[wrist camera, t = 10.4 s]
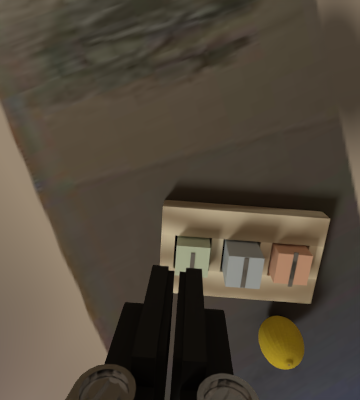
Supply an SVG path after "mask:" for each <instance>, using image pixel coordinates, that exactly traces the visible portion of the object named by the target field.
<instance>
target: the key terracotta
mask: <svg viewBox="0 0 360 400" xmlns="http://www.w3.org/2000/svg"><path fill="white" fill-rule="evenodd" d="M312 259H313V255H312V254H311V252H310V251H309V250H308V248H307V247H306V246H305V245H293V244H280V243H272V248H271V254H270V260H269V265H268V271H269V274H270V276H271V278H272V281H273V283H281V284H288V287H292V284H293V285H306V286H307V282H308V277H309V273H310V268H311V264H312Z"/></svg>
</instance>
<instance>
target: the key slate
mask: <svg viewBox="0 0 360 400" xmlns="http://www.w3.org/2000/svg"><path fill="white" fill-rule="evenodd" d="M264 260H265V258H264V256H263V254H262V251H261V249H260V247H259V245H258V242H254V241H241V240H228V239H225V246H224V254H223V262H222V271H223V277H224V283H225V287H237V288H250V289H260V284H261V278H262V272H263V266H264Z"/></svg>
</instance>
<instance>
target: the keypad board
mask: <svg viewBox="0 0 360 400" xmlns="http://www.w3.org/2000/svg"><path fill="white" fill-rule="evenodd" d="M329 223H330V218H329V217H328V216H327V215H325V214H324V213H323V212H321V211H308V210H295V209H281V208H268V207H255V206H241V205H228V204H215V203H202V202H188V201H175V200H165V201H164V204H163V215H162V234H161V254H160V266H169V271H175V262H176V259H174V253H175V238H176V236H189V237H202V238H210V247H211V249H210V259H209V268H208V277H207V278H203V295H205V296H218V297H230V298H243V299H255V300H268V301H280V302H293V303H305V304H311V300H312V296H313V291H314V287H315V283H316V279H317V274H318V270H319V266H320V261H321V257H322V253H323V248H324V244H325V240H326V235H327V231H328V227H329ZM224 239H228V240H241V241H254V242H258V245H259V247H260V249H261V251H262V254H263V256H264V258H265V260H264V266H263V272H262V278H261V284H260V289H250V288H237V287H225V283H224V277H223V271H222V262H221V257H222V249H223V241H224ZM272 243H280V244H293V245H305V246H306V247H307V248H308V250H309V251H310V252H311V254H312V255H313V259H312V264H311V268H310V273H309V277H308V282H307V286H306V285H293V284H292V287H288V284H281V283H273V281H272V278H271V276H270V274H269V271H268V265H269V260H270V254H271V248H272ZM178 287H179V276H178V275H175V273H174V288H173V293H178Z"/></svg>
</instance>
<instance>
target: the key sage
mask: <svg viewBox="0 0 360 400" xmlns="http://www.w3.org/2000/svg"><path fill="white" fill-rule="evenodd" d="M210 249H211V247H210V239H209V238H202V237H189V236H178V238H177V247H176V262H175V275H178V276H179V274H180V271H181V272H186V268H197V269H202V277H203V278H207V277H208V268H209V259H210Z"/></svg>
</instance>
